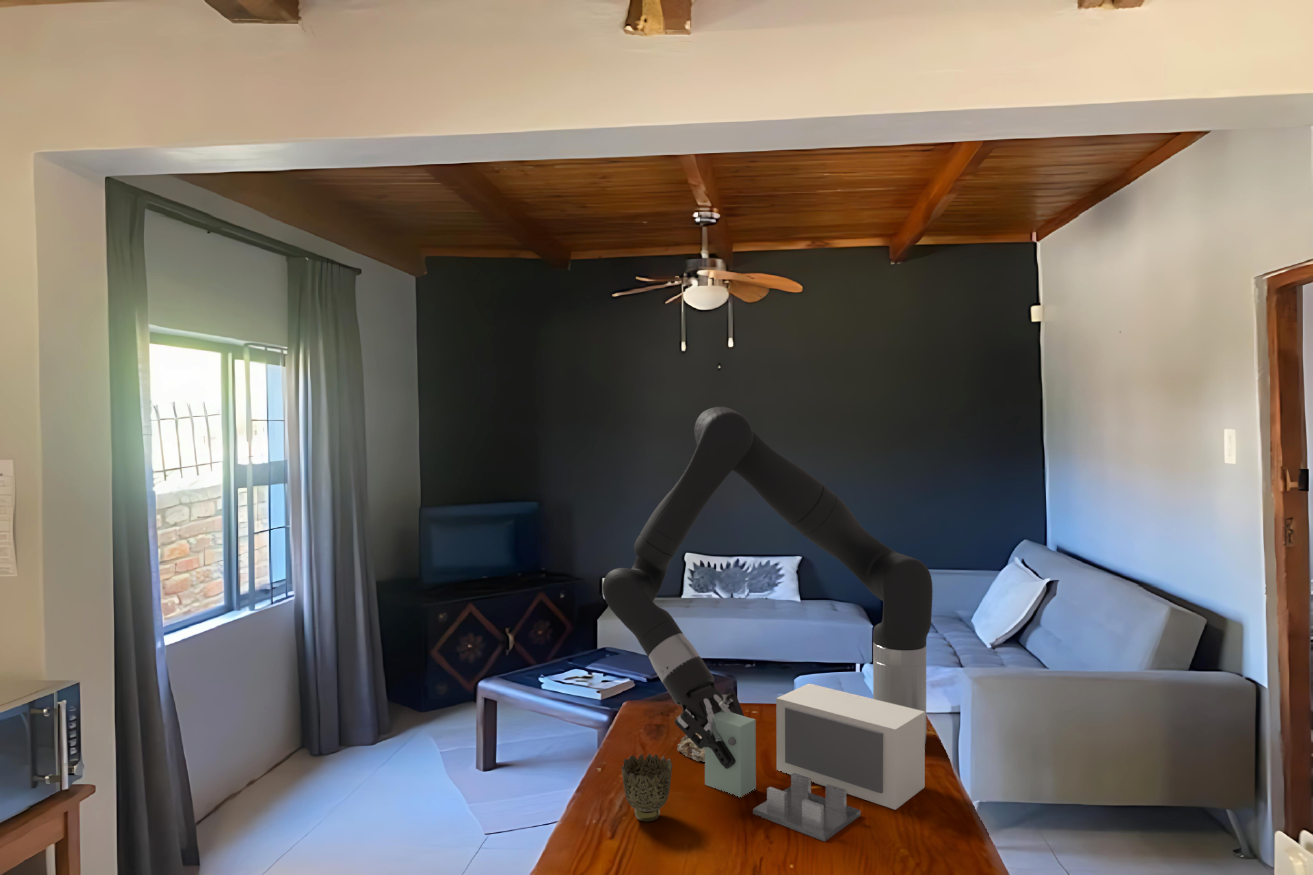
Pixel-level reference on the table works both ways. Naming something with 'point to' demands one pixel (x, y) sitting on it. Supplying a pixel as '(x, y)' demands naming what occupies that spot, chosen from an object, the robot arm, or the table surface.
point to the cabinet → (852, 743)
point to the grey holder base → (808, 808)
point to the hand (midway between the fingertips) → (740, 760)
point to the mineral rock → (691, 749)
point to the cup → (647, 784)
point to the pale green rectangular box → (742, 746)
